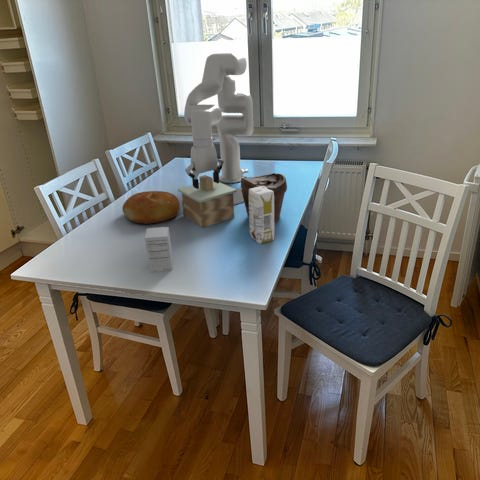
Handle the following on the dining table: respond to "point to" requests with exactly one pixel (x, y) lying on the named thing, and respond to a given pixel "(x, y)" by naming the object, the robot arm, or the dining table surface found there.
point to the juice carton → (261, 214)
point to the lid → (206, 190)
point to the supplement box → (159, 249)
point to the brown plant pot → (270, 182)
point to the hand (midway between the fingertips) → (206, 185)
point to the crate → (208, 210)
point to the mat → (238, 196)
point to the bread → (151, 207)
